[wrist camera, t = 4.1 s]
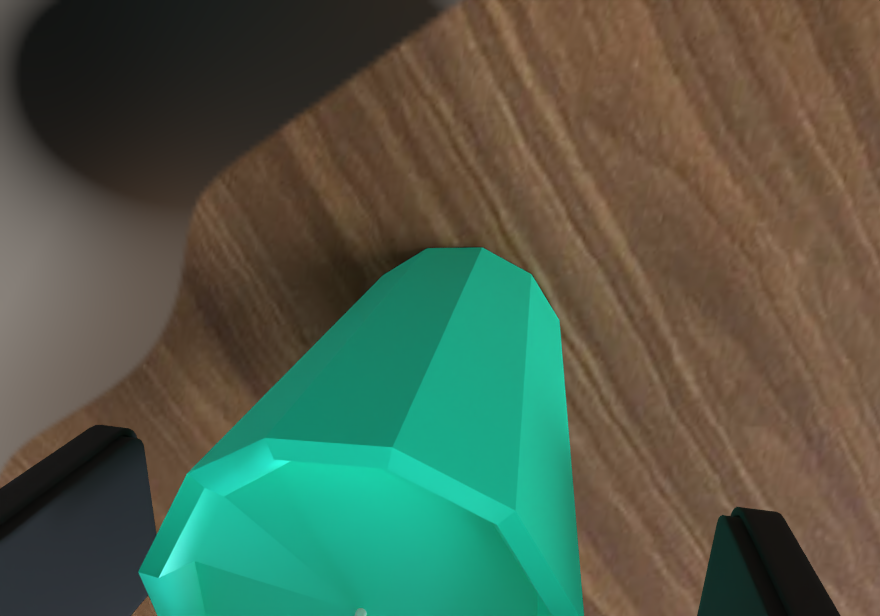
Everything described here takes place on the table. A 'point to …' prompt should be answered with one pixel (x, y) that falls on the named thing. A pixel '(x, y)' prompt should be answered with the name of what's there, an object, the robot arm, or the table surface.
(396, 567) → the candle
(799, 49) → the table surface
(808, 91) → the table surface
